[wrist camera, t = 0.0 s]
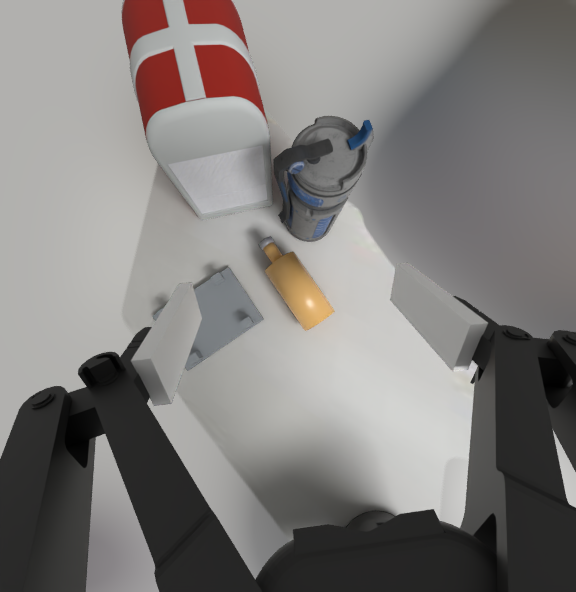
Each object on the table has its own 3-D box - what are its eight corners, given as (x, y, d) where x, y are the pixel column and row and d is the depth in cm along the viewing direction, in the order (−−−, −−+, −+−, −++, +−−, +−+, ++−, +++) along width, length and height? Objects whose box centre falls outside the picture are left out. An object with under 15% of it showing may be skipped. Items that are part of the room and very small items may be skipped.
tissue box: (255, 132, 56) (235, -44, 29) (274, 205, 54) (271, 91, 27) (182, 146, 55) (91, -22, 28) (199, 221, 53) (119, 119, 26)
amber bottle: (330, 311, 52) (338, 309, 45) (303, 330, 52) (307, 331, 45) (279, 237, 54) (279, 225, 47) (252, 255, 53) (248, 245, 46)
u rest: (229, 268, 52) (226, 264, 49) (263, 319, 52) (262, 319, 48) (154, 316, 51) (145, 315, 47) (189, 369, 50) (182, 373, 46)
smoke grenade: (267, 211, 54) (259, 116, 29) (324, 192, 55) (362, 85, 30) (284, 253, 53) (290, 194, 28) (341, 233, 54) (394, 159, 29)
